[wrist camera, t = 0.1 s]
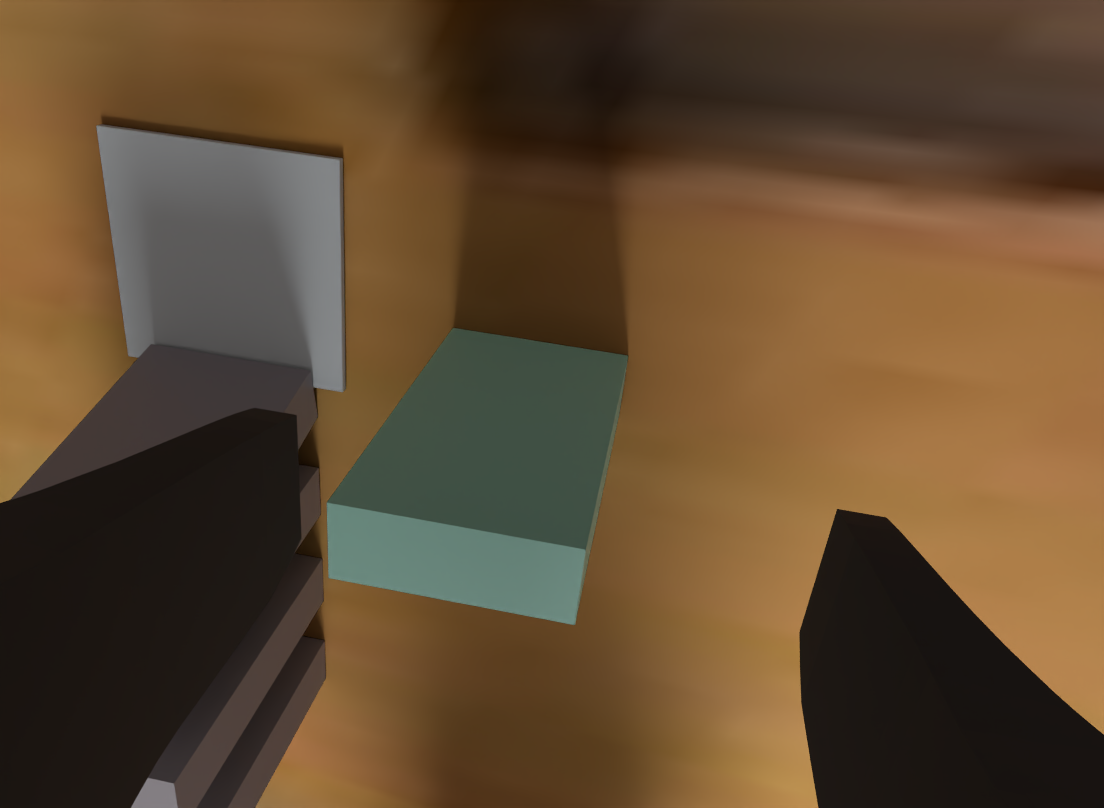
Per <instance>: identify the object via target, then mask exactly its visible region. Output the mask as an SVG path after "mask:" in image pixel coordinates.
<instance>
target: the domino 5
mask: <svg viewBox="0 0 1104 808" xmlns="http://www.w3.org/2000/svg"><path fill="white" fill-rule="evenodd" d="M627 361H628V355H621V354H615V353H609V352H603V351H596V350H590V349H584V348H577V347H571V346H565V345H558V344H552V343H546V342H540V341H533V340H527V339H521V338H514V337H508V336H502V335H496V334H489V333H483V332H477V331H470V330H464V329H458V328H453V329H452V330H451V331H450V333H449V334H448V335H447V337H446V338H445V340H444V341H443V342H442V344H441V345H440V347H439V348H438V349H437V351H436V352H435V353H434V355H433V356H432V358H431V359H430V360H429V362H428V363H427V365H426V366H425V367H424V369H423V370H422V371H421V373H420V374H419V376H418V377H417V378H416V380H415V381H414V383H413V384H412V385H411V387H410V388H409V389H408V391H407V392H406V394H405V395H404V396H403V398H402V399H401V401H400V402H399V403H398V405H397V406H396V407H395V409H394V410H393V412H392V413H391V414H390V416H389V417H388V418H387V420H386V421H385V423H384V424H383V425H382V427H381V428H380V430H379V431H378V432H377V434H376V435H375V436H374V438H373V439H372V441H371V442H370V443H369V445H368V446H367V448H366V449H365V450H364V452H363V453H362V454H361V456H360V457H359V459H358V460H357V461H356V463H355V464H354V466H353V467H352V468H351V470H350V471H349V472H348V474H347V475H346V477H345V478H344V479H343V481H342V482H341V484H340V485H339V486H338V488H337V489H336V490H335V492H334V493H333V495H332V496H331V497H330V499H329V500H328V502H327V531H328V572H329V578H331V579H337V580H342V581H347V582H352V583H358V584H363V585H368V586H373V587H378V588H384V589H389V590H394V591H399V592H405V593H410V594H415V595H420V596H425V597H431V598H436V599H441V600H446V601H452V602H457V603H462V604H467V605H472V606H478V607H483V608H488V609H493V610H499V611H504V612H509V613H514V614H519V615H525V616H530V617H535V618H540V619H546V620H551V621H556V622H561V623H566V624H572V625H575V622H576V618H577V613H578V608H579V603H580V599H581V594H582V589H583V584H584V580H585V575H586V570H587V565H588V561H589V556H590V551H591V546H592V542H593V537H594V532H595V527H596V523H597V518H598V513H599V508H600V504H601V499H602V494H603V489H604V485H605V480H606V475H607V470H608V465H609V461H610V456H611V451H612V446H613V442H614V437H615V432H616V427H617V423H618V418H619V413H620V407H621V400H622V394H623V387H624V381H625V374H626V368H627Z"/></svg>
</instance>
